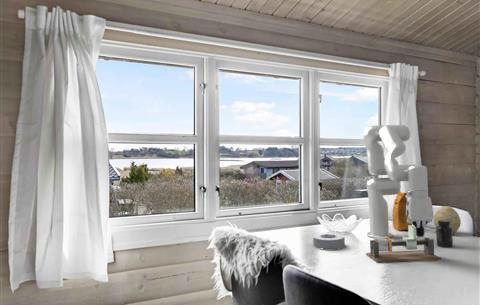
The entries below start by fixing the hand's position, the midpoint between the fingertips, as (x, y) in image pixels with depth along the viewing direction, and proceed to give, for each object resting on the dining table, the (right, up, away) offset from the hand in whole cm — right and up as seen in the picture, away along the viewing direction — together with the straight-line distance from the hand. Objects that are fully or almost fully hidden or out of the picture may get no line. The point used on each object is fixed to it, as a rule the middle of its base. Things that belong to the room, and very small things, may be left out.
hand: (420, 236), depth 158 cm
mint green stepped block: (-5, -5, 0) cm, 7 cm away
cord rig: (-8, -9, 0) cm, 12 cm away
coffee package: (+17, -9, +56) cm, 59 cm away
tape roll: (-34, -11, +24) cm, 43 cm away
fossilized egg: (+35, -8, +40) cm, 54 cm away
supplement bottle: (+19, -8, +16) cm, 26 cm away
